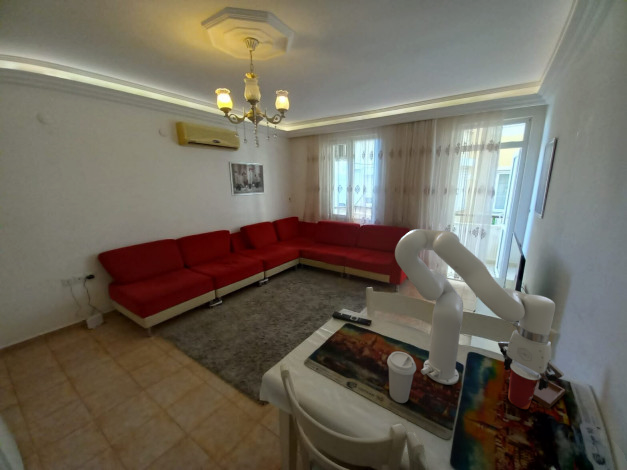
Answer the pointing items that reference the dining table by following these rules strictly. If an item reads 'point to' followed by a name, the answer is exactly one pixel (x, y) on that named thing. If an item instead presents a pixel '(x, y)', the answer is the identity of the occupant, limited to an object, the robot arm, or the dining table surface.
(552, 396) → the tray
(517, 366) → the paper cup
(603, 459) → the dining table surface
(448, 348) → the robot arm
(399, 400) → the coffee cup
